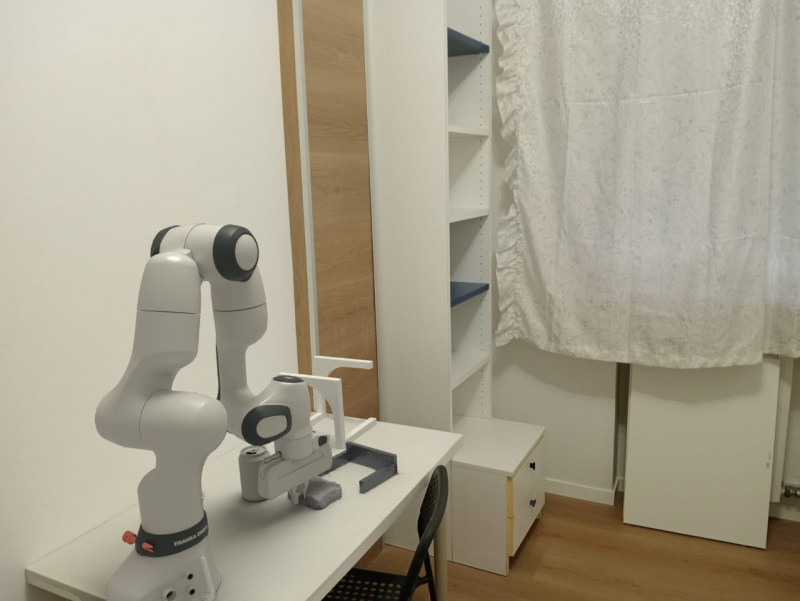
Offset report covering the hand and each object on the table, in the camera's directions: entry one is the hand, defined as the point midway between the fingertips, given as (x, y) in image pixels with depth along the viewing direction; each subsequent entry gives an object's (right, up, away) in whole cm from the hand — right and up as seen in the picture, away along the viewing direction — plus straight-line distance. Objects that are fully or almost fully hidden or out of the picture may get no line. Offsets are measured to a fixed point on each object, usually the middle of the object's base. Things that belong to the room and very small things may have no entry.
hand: (298, 500), depth 157 cm
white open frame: (+3, +7, +45) cm, 46 cm away
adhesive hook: (-24, -2, +8) cm, 25 cm away
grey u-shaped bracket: (+12, +2, +16) cm, 20 cm away
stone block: (+4, -1, +6) cm, 7 cm away
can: (-11, -1, +7) cm, 13 cm away
